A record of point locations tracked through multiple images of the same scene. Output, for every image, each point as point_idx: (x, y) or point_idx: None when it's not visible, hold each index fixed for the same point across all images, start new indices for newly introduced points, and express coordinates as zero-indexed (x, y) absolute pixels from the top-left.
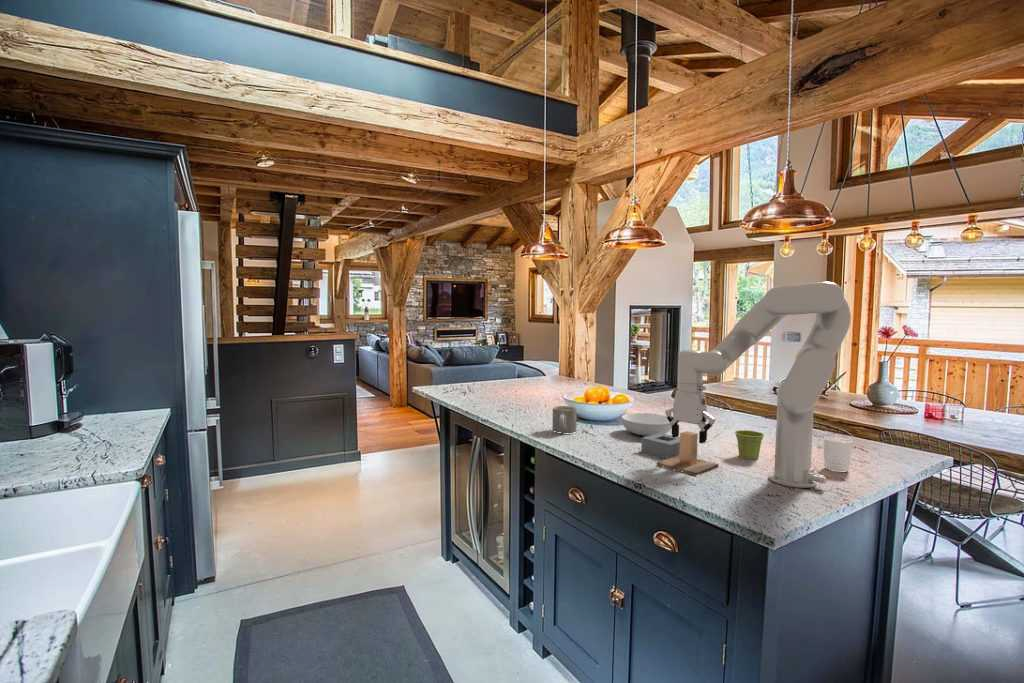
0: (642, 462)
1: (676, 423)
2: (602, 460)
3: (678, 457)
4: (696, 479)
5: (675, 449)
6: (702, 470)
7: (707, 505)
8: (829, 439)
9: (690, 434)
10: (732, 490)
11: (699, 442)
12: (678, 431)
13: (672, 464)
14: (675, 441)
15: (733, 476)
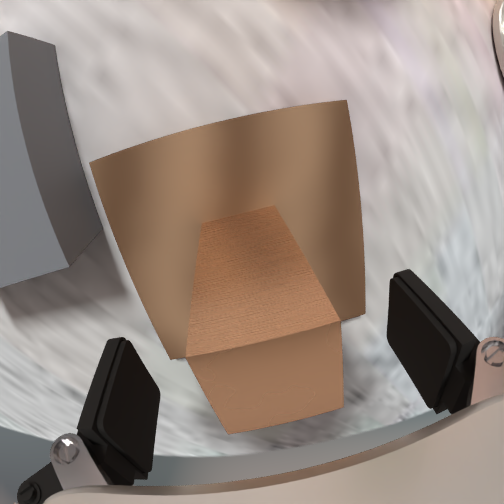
0: None
1: (116, 472)
2: None
3: (132, 214)
4: (378, 328)
5: (66, 198)
6: (364, 269)
7: None
8: None
9: (317, 398)
10: (479, 294)
11: (392, 342)
12: (121, 377)
13: None
14: (9, 176)
15: (446, 171)
